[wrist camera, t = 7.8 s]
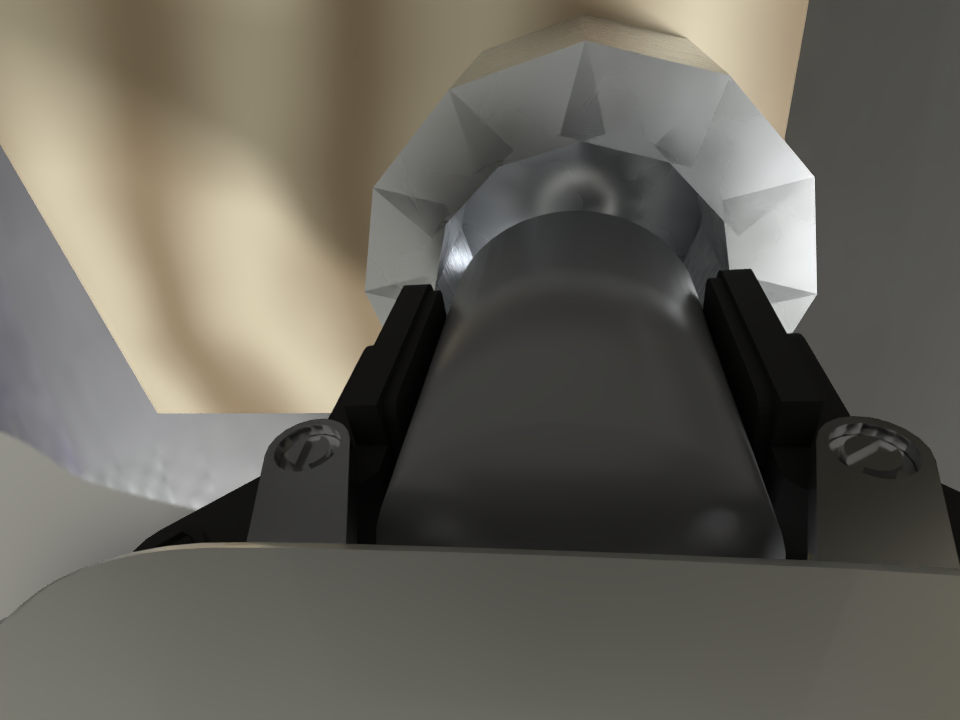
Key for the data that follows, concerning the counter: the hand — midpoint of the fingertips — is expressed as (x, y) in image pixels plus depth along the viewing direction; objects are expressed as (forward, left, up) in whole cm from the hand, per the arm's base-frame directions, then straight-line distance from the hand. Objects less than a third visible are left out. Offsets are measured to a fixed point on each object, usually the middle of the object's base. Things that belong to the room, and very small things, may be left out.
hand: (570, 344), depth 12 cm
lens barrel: (0, 0, -7) cm, 7 cm away
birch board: (+5, -4, -8) cm, 10 cm away
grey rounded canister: (0, 0, -1) cm, 1 cm away
